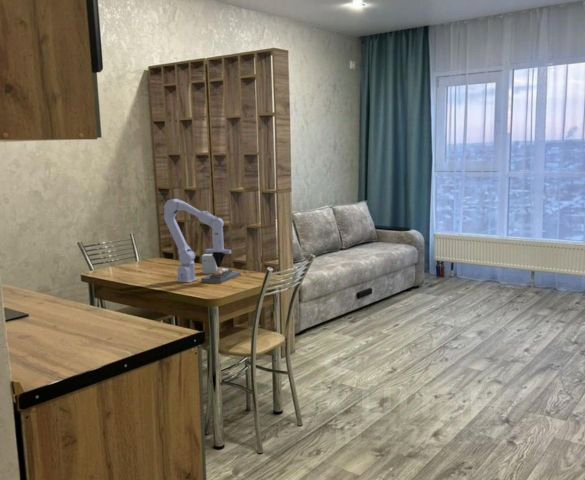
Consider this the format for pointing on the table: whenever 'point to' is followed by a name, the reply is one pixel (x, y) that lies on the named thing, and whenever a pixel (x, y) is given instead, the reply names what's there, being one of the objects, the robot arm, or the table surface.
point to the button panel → (221, 277)
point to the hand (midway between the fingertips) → (219, 266)
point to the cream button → (221, 270)
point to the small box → (208, 264)
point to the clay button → (217, 273)
